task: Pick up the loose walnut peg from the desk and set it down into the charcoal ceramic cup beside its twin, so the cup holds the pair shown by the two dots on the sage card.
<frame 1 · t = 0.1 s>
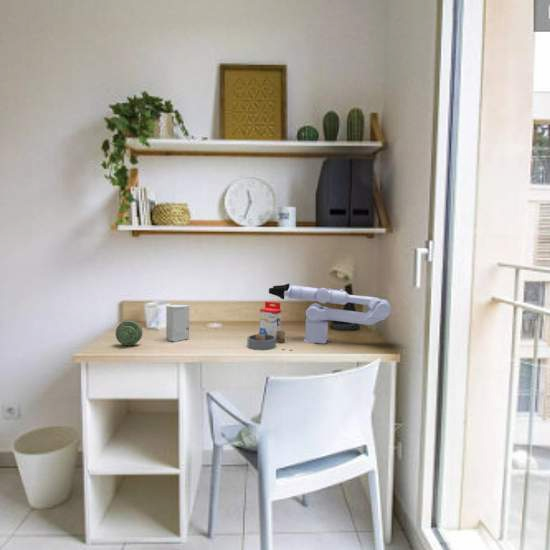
hand: (271, 289, 180), 22 cm above the table, tool horizontal, fingers open, 7 cm apart
walnut peg in cup: (260, 347, 165), resting on charcoal cup
ink box: (270, 334, 189), on the table
skincare box: (177, 339, 178), on the table
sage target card: (287, 351, 161), on the table
charcoal cup: (261, 347, 167), on the table
loose walnut peg: (280, 343, 173), on the table
decorative artifact: (127, 347, 165), on the table
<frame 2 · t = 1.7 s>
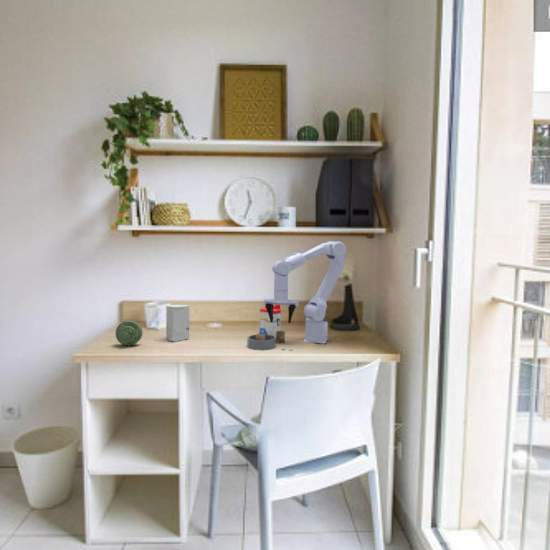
hand: (280, 322, 172), 9 cm above the table, tool pointing down, fingers open, 7 cm apart
nothing on the table moved.
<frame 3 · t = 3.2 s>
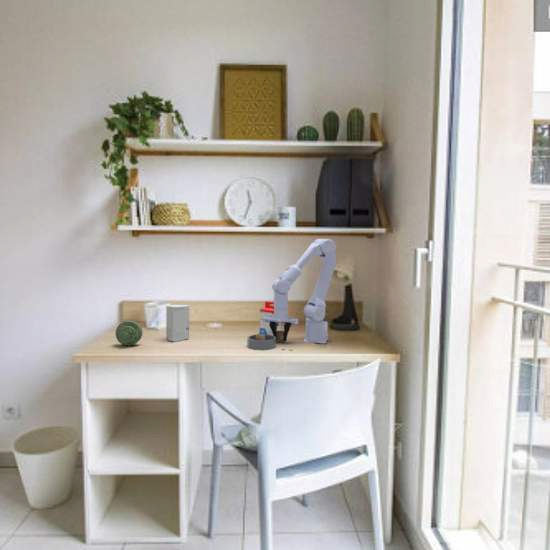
hand: (280, 340, 173), 1 cm above the table, tool pointing down, fingers closed on loose walnut peg, 4 cm apart
loose walnut peg: (280, 343, 173), on the table, touching gripper
everything else where it was.
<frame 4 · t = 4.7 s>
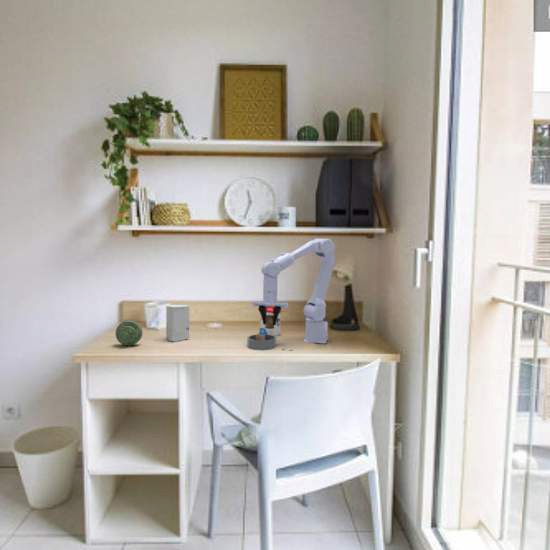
hand: (269, 324, 170), 9 cm above the table, tool pointing down, fingers closed on loose walnut peg, 4 cm apart
loose walnut peg: (269, 327, 170), point 7 cm above the table, touching gripper
everything else where it was.
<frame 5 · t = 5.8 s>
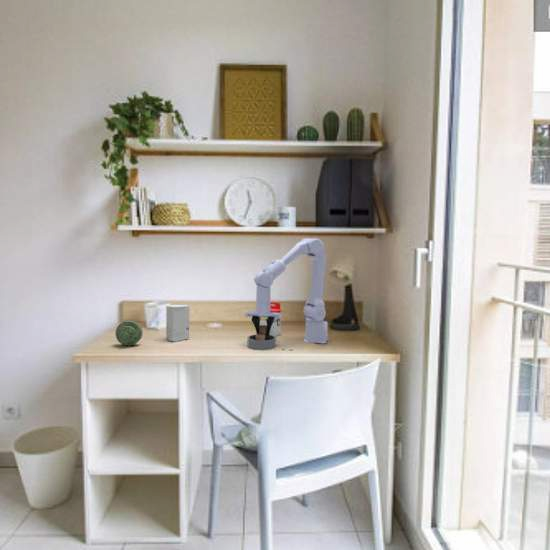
hand: (263, 334, 168), 5 cm above the table, tool pointing down, fingers closed on loose walnut peg, 4 cm apart
loose walnut peg: (263, 338, 169), point 3 cm above the table, touching gripper
everything else where it was.
when the fingers open (5 cm above the table, at t = 6.4 s): loose walnut peg drops 3 cm, resting on charcoal cup.
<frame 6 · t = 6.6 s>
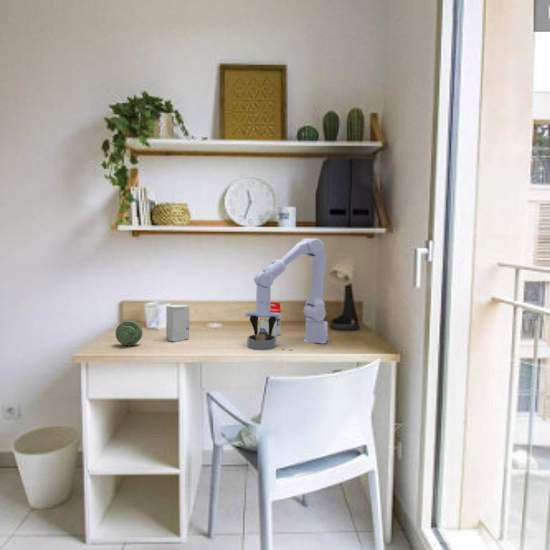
hand: (263, 334, 168), 5 cm above the table, tool pointing down, fingers open, 5 cm apart
loose walnut peg: (262, 344, 169), point 1 cm above the table, touching charcoal cup
everything else where it was.
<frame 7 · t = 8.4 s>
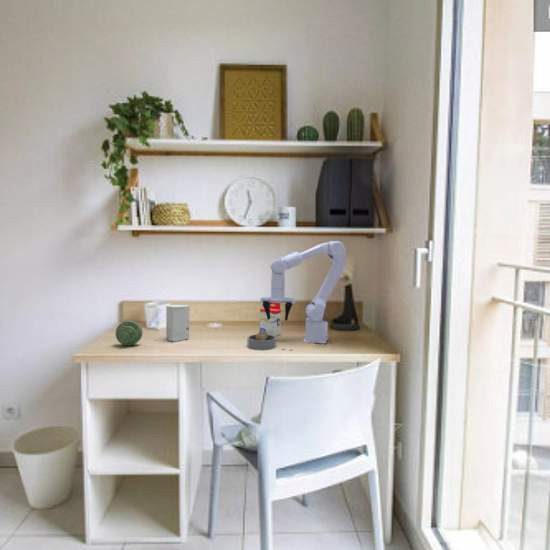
hand: (277, 319, 176), 9 cm above the table, tool pointing down, fingers open, 7 cm apart
nothing on the table moved.
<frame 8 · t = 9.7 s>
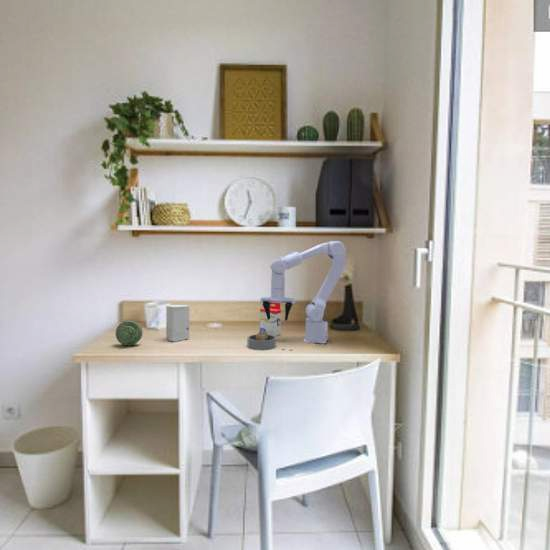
hand: (277, 319, 176), 9 cm above the table, tool pointing down, fingers open, 7 cm apart
nothing on the table moved.
at the end: loose walnut peg inside the target area on the charcoal cup (2.2 cm from its centre), point 0.5 cm above the charcoal cup's base; loose walnut peg tilted 0°; the gripper is holding nothing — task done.
